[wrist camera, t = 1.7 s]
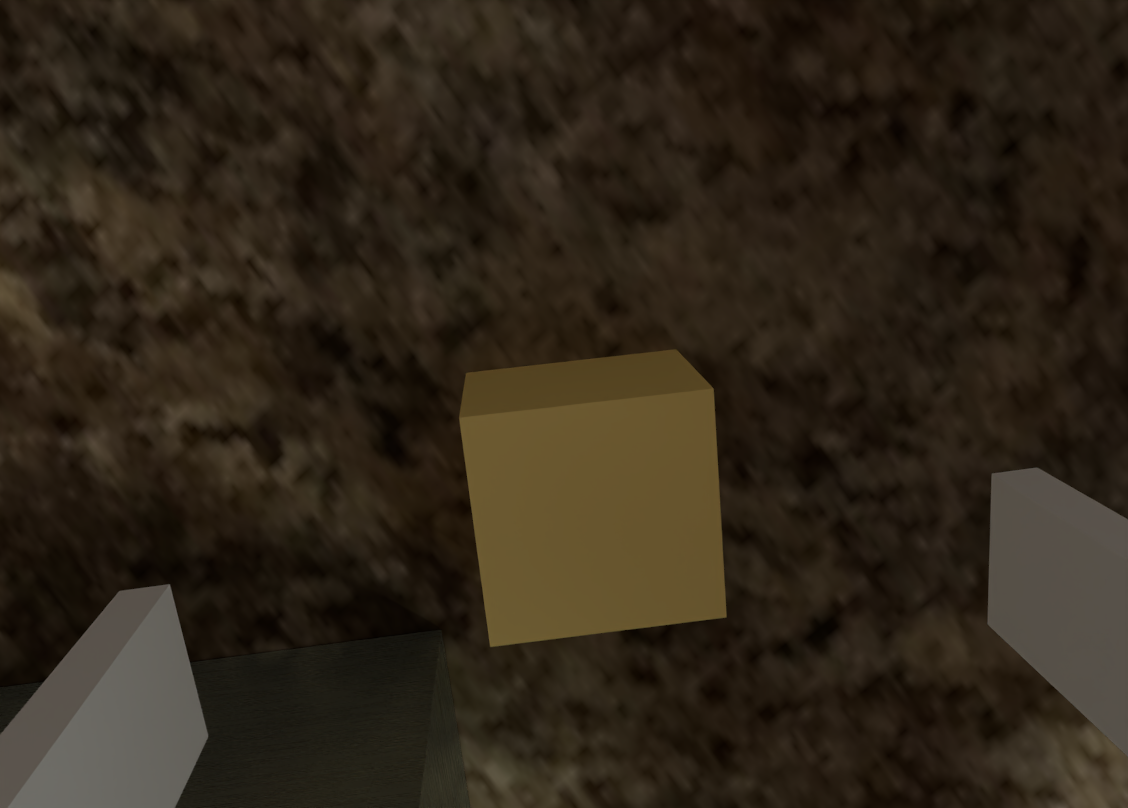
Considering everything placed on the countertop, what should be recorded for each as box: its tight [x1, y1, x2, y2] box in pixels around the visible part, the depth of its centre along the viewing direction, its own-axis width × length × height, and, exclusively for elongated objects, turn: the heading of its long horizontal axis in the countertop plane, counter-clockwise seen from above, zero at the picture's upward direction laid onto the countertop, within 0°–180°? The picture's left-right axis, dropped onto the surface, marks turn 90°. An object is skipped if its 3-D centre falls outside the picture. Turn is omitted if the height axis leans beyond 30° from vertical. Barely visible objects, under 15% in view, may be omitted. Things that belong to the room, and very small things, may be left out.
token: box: [459, 349, 727, 647], centre depth 20 cm, size 5×5×4 cm
